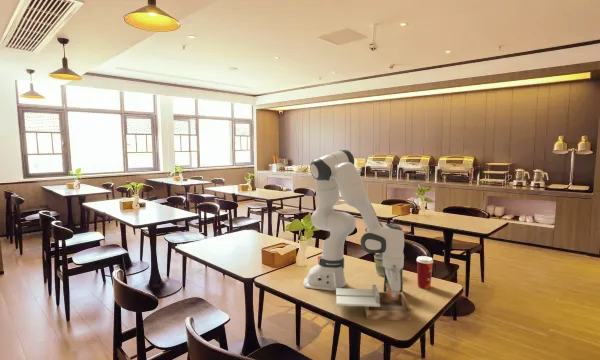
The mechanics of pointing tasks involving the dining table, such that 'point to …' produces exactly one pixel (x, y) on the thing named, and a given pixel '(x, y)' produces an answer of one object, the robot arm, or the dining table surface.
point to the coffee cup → (424, 271)
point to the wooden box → (389, 309)
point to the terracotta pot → (388, 293)
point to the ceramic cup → (379, 264)
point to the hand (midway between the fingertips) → (392, 293)
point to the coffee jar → (387, 281)
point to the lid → (358, 297)
